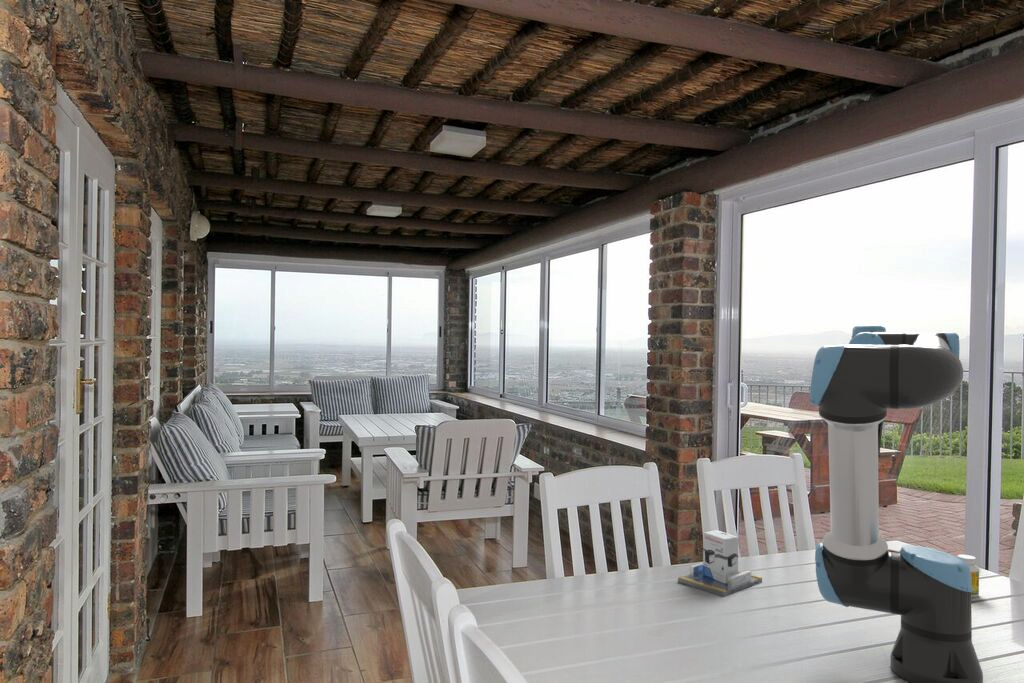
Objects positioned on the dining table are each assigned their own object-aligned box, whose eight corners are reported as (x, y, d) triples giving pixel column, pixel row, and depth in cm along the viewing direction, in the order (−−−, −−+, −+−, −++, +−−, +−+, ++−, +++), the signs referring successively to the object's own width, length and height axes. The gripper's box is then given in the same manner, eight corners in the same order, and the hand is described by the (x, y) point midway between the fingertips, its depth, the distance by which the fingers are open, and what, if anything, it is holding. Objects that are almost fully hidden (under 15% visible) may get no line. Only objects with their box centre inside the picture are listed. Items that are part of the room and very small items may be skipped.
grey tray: (723, 596, 175) (724, 582, 176) (677, 582, 186) (677, 568, 186) (762, 581, 187) (762, 568, 187) (716, 569, 198) (716, 556, 198)
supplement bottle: (952, 589, 183) (952, 552, 183) (976, 592, 181) (976, 555, 181) (956, 595, 178) (956, 558, 178) (981, 599, 176) (981, 560, 176)
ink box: (701, 574, 189) (702, 531, 189) (715, 572, 192) (716, 529, 192) (724, 584, 182) (725, 539, 182) (738, 581, 184) (739, 536, 184)
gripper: (873, 389, 166) (873, 489, 165) (895, 387, 174) (895, 482, 174) (841, 387, 171) (841, 484, 171) (864, 386, 180) (864, 478, 179)
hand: (868, 483), depth 172 cm, fingers closed
